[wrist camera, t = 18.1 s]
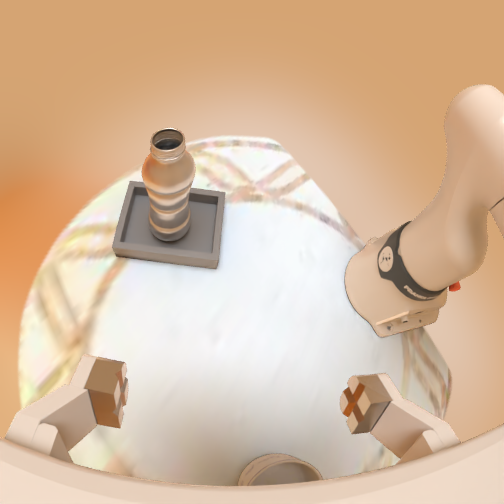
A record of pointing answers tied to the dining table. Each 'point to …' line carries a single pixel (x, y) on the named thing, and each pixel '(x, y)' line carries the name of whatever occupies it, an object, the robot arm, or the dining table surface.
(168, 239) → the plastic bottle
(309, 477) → the teacup
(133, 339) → the dining table surface
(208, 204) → the tray
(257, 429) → the dining table surface
